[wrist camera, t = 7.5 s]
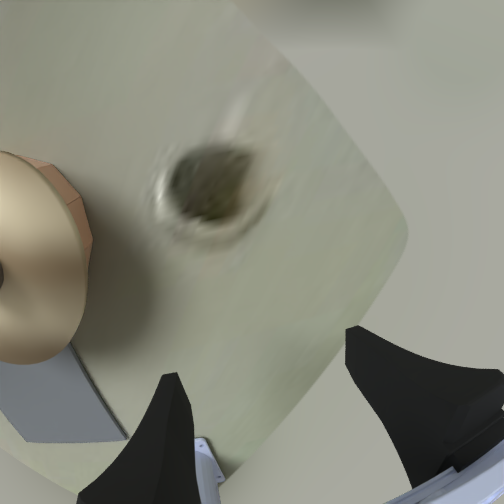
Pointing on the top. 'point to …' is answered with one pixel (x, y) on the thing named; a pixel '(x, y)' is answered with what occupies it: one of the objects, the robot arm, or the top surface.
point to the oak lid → (37, 266)
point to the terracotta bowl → (68, 201)
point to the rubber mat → (55, 402)
